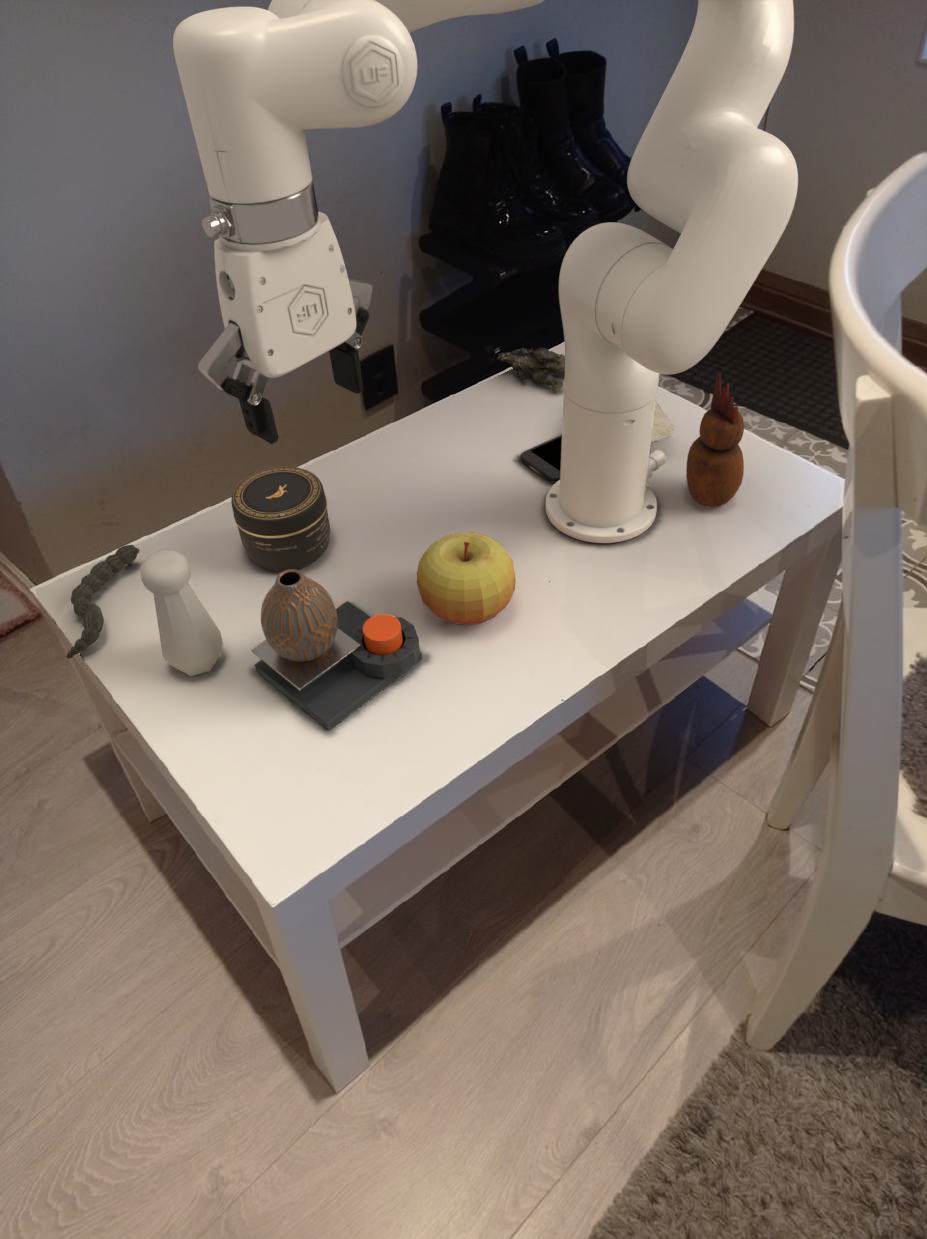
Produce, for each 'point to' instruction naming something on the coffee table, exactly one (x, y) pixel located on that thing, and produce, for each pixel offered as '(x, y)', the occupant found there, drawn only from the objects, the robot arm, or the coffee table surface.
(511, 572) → the apple
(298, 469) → the jar
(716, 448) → the wooden figurine
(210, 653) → the salt shaker
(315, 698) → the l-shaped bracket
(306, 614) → the vase
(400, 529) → the coffee table surface
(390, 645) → the button
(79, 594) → the toy
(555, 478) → the smartphone
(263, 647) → the plate
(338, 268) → the robot arm
